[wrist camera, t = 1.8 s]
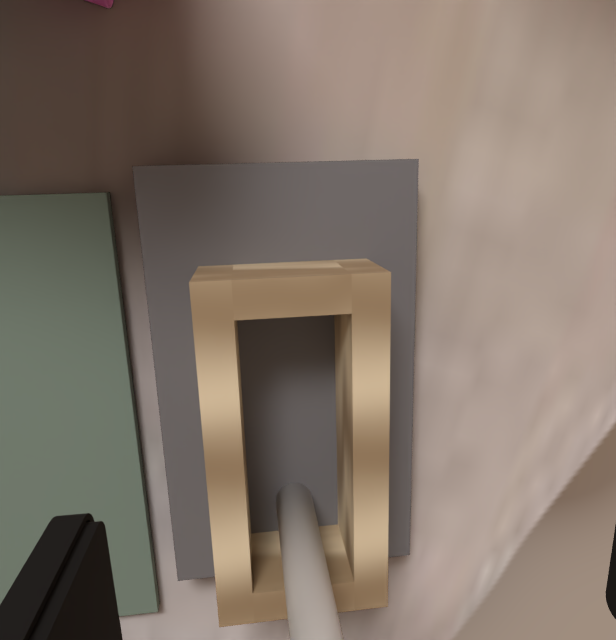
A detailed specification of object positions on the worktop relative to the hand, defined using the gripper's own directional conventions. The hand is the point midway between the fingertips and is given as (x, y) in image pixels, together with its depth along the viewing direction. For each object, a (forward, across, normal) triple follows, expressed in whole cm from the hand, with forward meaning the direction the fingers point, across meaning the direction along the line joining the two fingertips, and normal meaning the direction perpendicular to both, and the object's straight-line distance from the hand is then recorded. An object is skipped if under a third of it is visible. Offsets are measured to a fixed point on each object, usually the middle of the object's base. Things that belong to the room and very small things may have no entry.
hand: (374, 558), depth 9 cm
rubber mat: (+17, +15, +5) cm, 23 cm away
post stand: (+17, +1, +3) cm, 17 cm away
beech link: (+15, +1, +4) cm, 16 cm away
